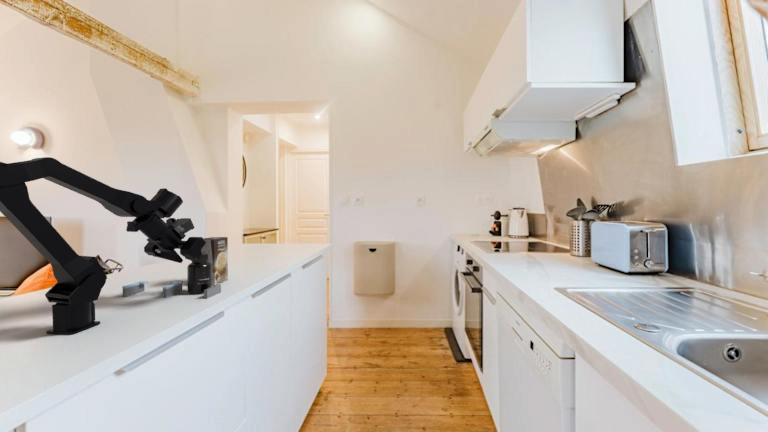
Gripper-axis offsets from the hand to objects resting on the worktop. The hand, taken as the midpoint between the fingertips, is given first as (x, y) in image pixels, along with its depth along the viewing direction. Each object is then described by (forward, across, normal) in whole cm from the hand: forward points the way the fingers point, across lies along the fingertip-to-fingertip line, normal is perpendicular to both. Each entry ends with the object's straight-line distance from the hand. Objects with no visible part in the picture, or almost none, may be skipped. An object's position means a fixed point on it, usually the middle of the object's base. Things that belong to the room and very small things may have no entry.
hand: (192, 262), depth 102 cm
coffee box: (+17, +6, -2) cm, 18 cm away
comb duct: (+5, +5, +9) cm, 11 cm away
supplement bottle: (+9, 0, +6) cm, 10 cm away
